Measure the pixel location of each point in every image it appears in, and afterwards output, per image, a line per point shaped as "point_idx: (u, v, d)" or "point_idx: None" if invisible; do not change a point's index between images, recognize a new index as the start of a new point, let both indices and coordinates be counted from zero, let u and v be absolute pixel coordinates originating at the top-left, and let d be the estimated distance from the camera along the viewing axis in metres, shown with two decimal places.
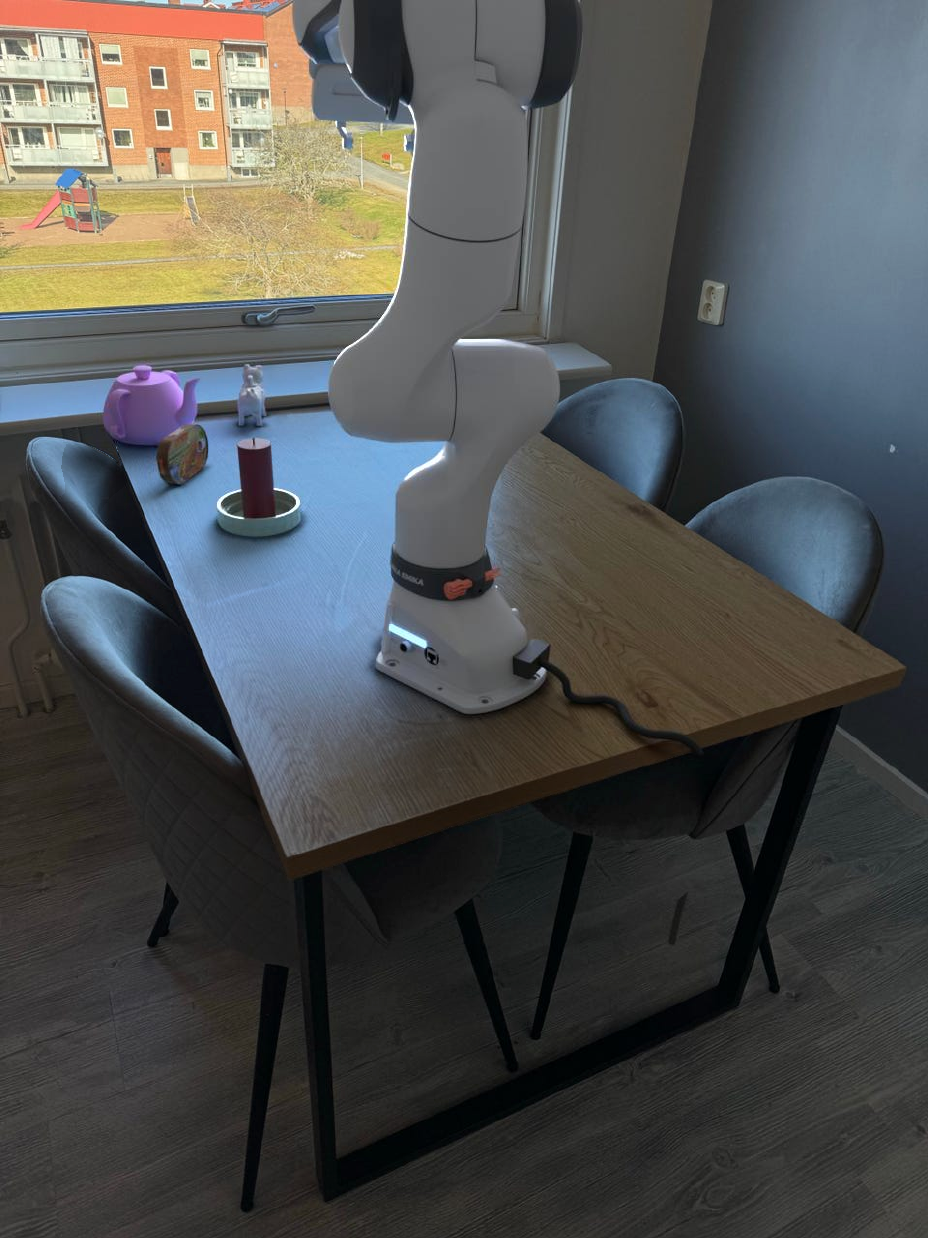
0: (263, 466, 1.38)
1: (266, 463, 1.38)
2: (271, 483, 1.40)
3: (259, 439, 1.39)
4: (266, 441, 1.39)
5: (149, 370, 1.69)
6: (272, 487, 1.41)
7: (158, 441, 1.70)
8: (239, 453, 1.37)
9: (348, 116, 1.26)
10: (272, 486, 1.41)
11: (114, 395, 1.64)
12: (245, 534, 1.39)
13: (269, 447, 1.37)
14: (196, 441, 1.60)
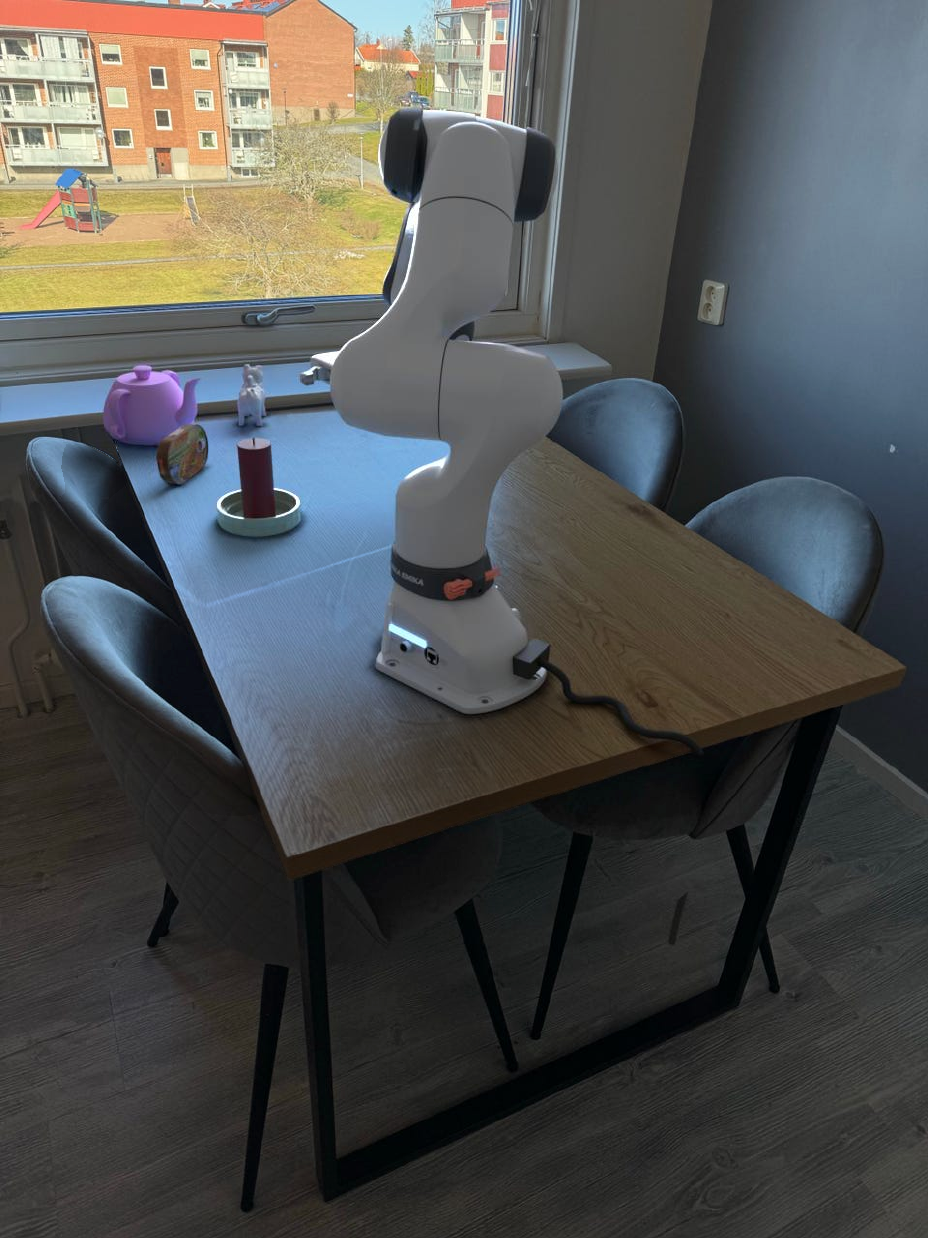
0: (263, 466, 1.38)
1: (266, 463, 1.38)
2: (271, 483, 1.40)
3: (259, 439, 1.39)
4: (266, 441, 1.39)
5: (149, 370, 1.69)
6: (272, 487, 1.41)
7: (158, 441, 1.70)
8: (239, 453, 1.37)
9: (329, 361, 1.47)
10: (272, 486, 1.41)
11: (114, 395, 1.64)
12: (245, 534, 1.39)
13: (269, 447, 1.37)
14: (196, 441, 1.60)
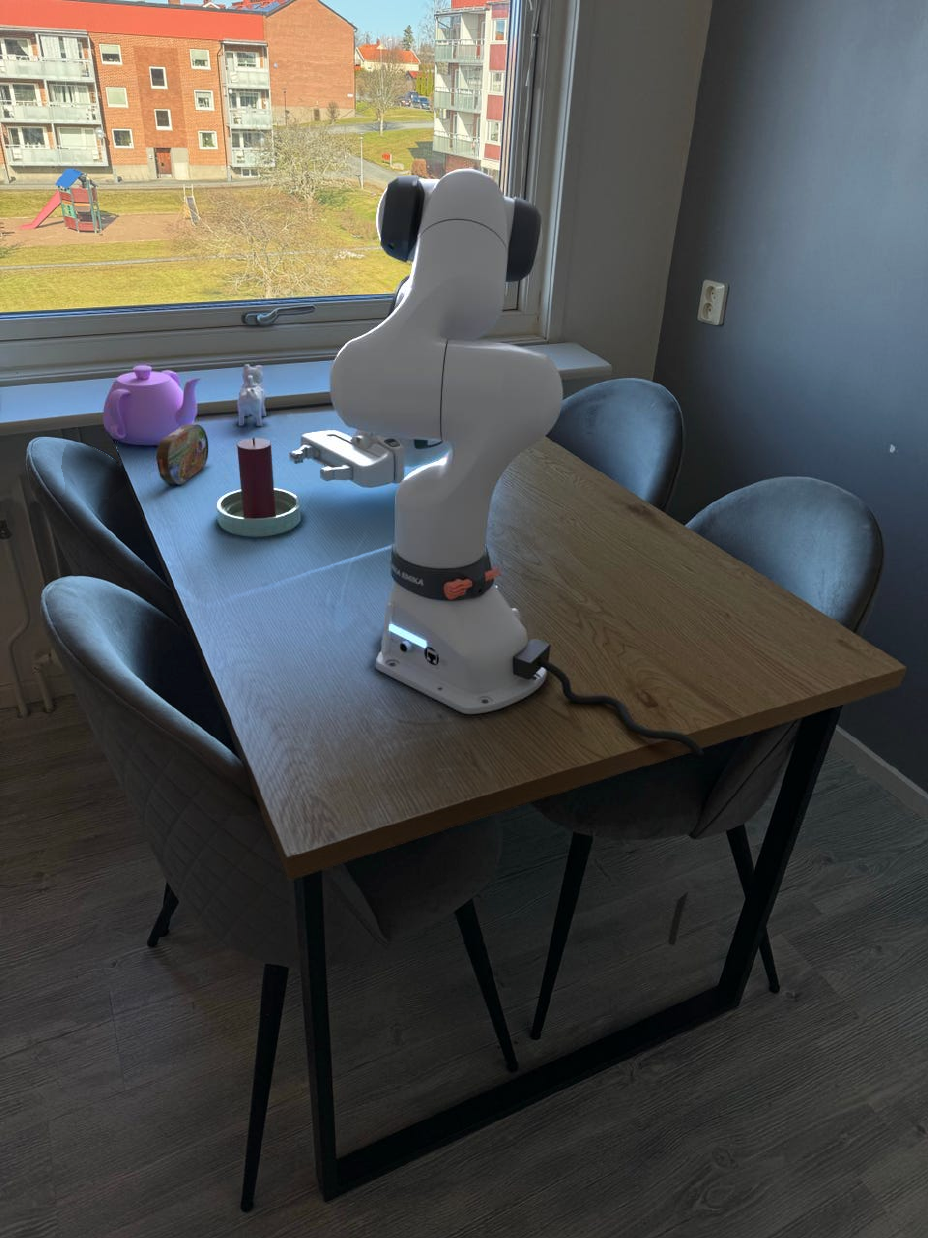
0: (263, 466, 1.38)
1: (266, 463, 1.38)
2: (271, 483, 1.40)
3: (259, 439, 1.39)
4: (266, 441, 1.39)
5: (149, 370, 1.69)
6: (272, 487, 1.41)
7: (158, 441, 1.70)
8: (239, 453, 1.37)
9: (318, 441, 1.52)
10: (272, 486, 1.41)
11: (114, 395, 1.64)
12: (245, 534, 1.39)
13: (269, 447, 1.37)
14: (196, 441, 1.60)
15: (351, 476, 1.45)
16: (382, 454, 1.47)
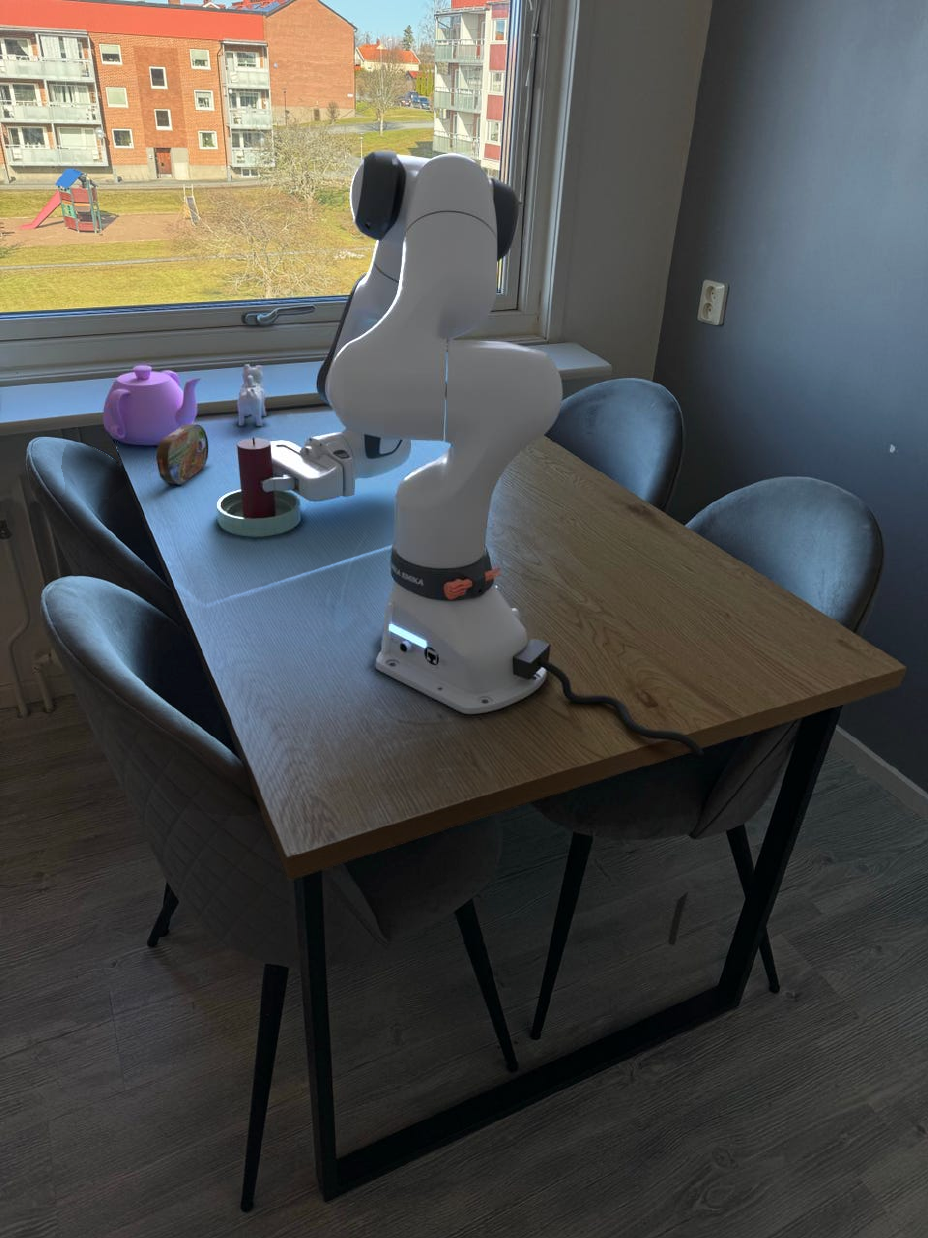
0: (263, 466, 1.38)
1: (266, 463, 1.38)
2: None
3: (259, 439, 1.39)
4: (266, 441, 1.39)
5: (149, 370, 1.69)
6: None
7: (158, 441, 1.70)
8: (239, 453, 1.37)
9: None
10: None
11: (114, 395, 1.64)
12: (245, 534, 1.39)
13: (269, 447, 1.37)
14: (196, 441, 1.60)
15: (293, 486, 1.40)
16: (331, 466, 1.41)
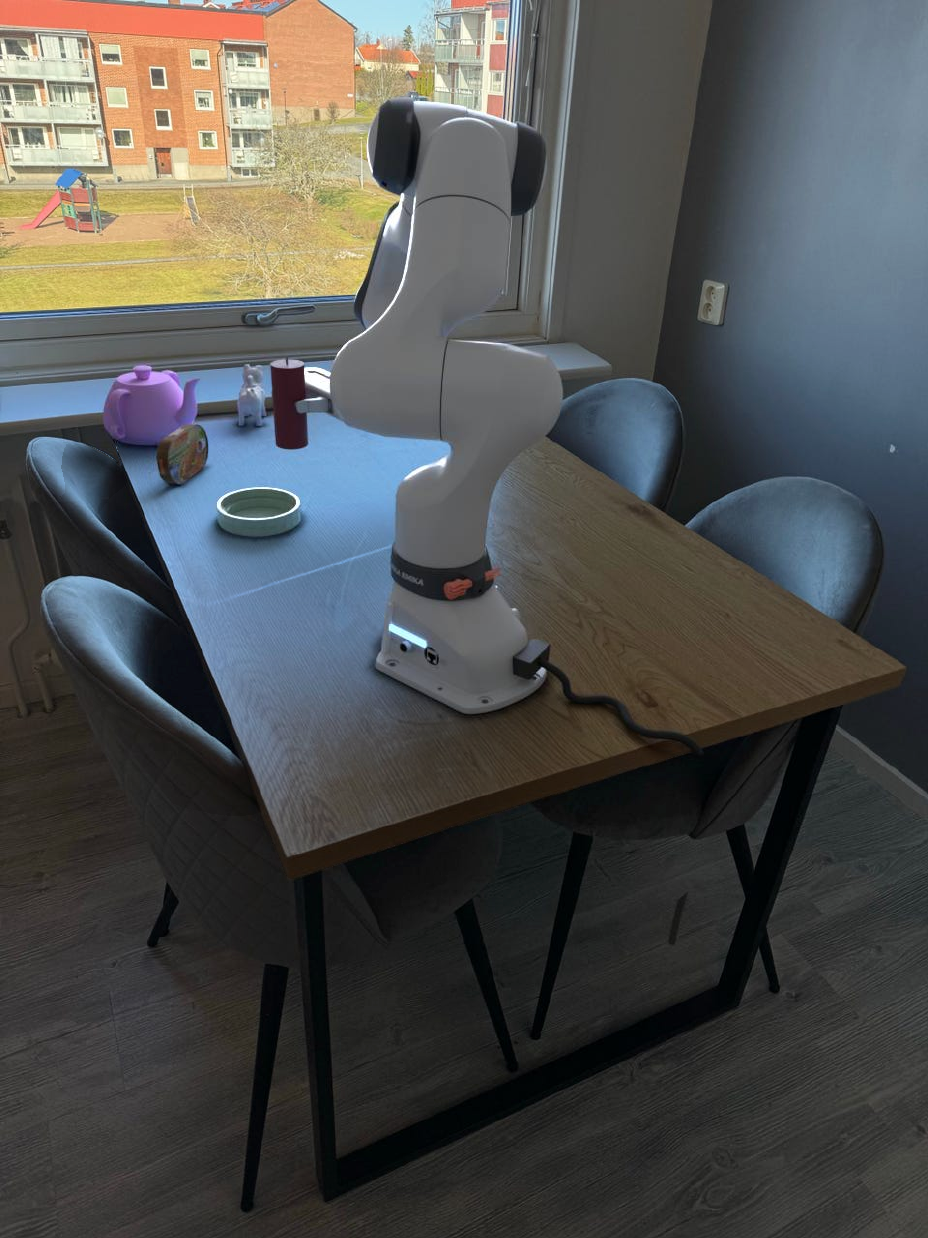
0: (297, 386, 1.36)
1: (300, 384, 1.36)
2: None
3: (292, 360, 1.38)
4: (299, 362, 1.37)
5: (149, 370, 1.69)
6: None
7: (158, 441, 1.70)
8: (272, 373, 1.35)
9: None
10: None
11: (114, 395, 1.64)
12: (245, 534, 1.39)
13: (303, 367, 1.36)
14: (196, 441, 1.60)
15: (326, 408, 1.38)
16: None
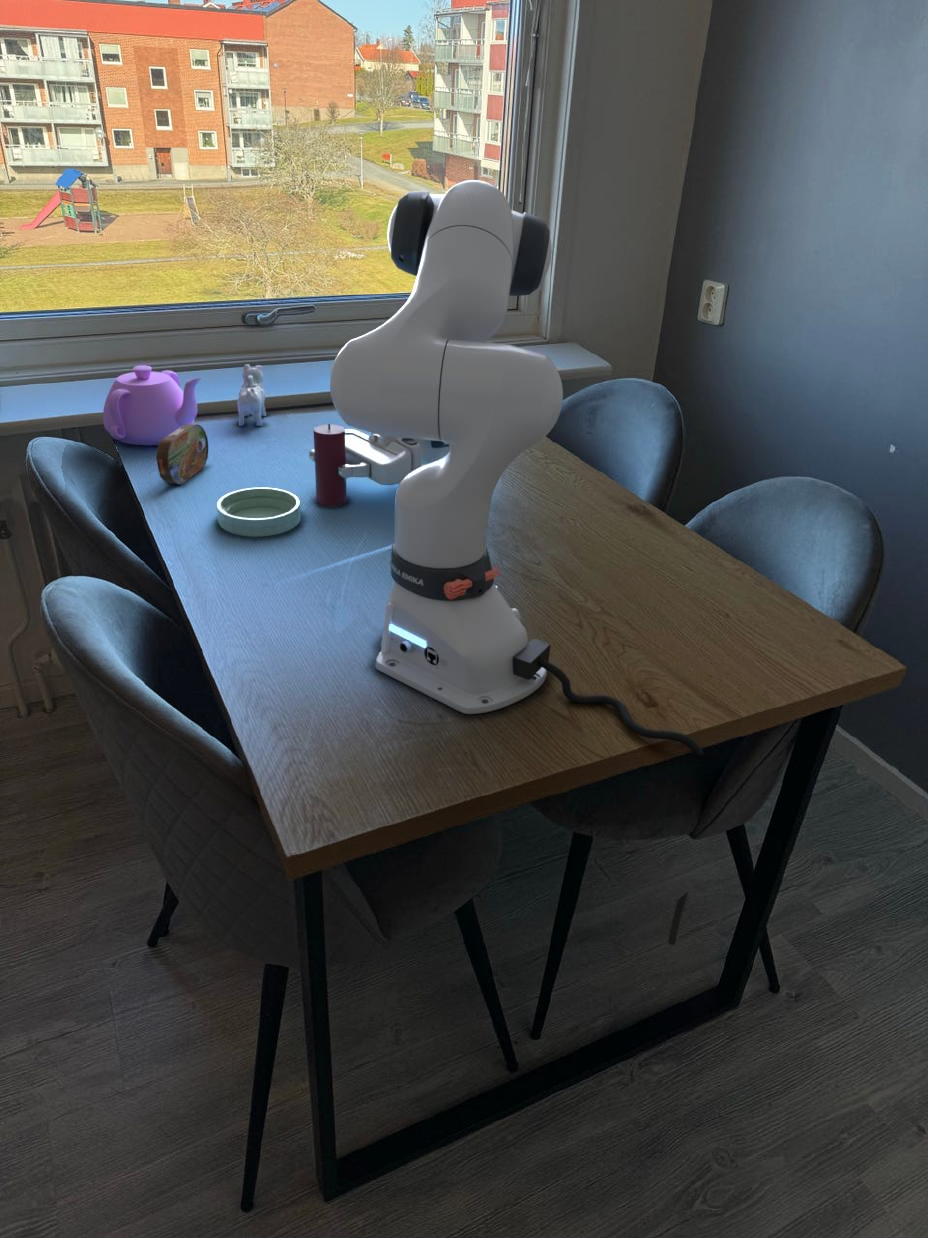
0: (338, 450, 1.46)
1: (340, 448, 1.46)
2: None
3: (333, 425, 1.48)
4: (340, 427, 1.47)
5: (149, 370, 1.69)
6: None
7: (158, 441, 1.70)
8: (316, 438, 1.45)
9: None
10: None
11: (114, 395, 1.64)
12: (245, 534, 1.39)
13: (344, 432, 1.46)
14: (196, 441, 1.60)
15: (369, 473, 1.48)
16: (400, 452, 1.49)
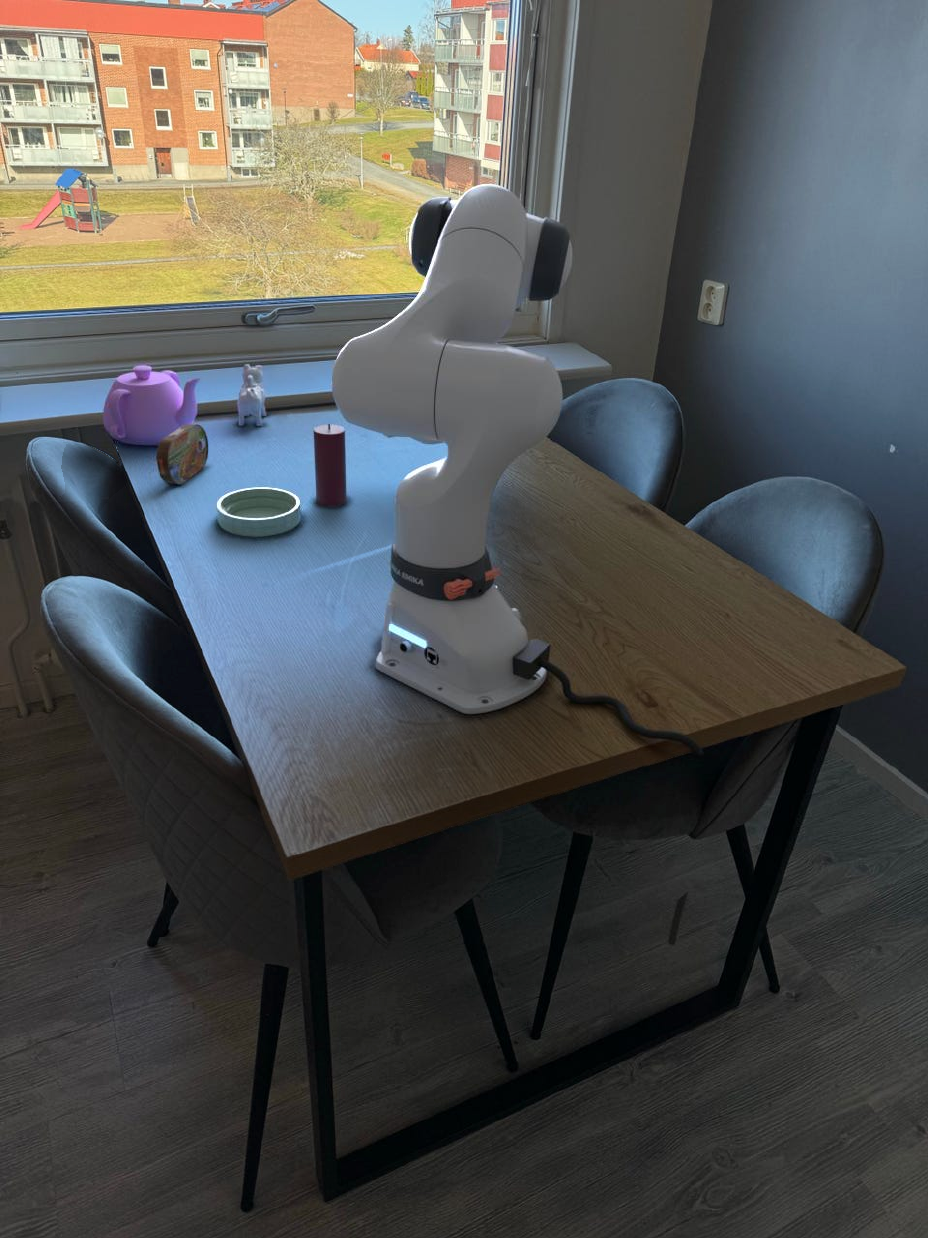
0: (338, 450, 1.46)
1: (340, 448, 1.46)
2: (344, 467, 1.49)
3: (333, 425, 1.48)
4: (340, 427, 1.47)
5: (149, 370, 1.69)
6: (345, 471, 1.49)
7: (158, 441, 1.70)
8: (316, 438, 1.45)
9: None
10: (345, 470, 1.49)
11: (114, 395, 1.64)
12: (245, 534, 1.39)
13: (344, 432, 1.46)
14: (196, 441, 1.60)
15: None
16: None
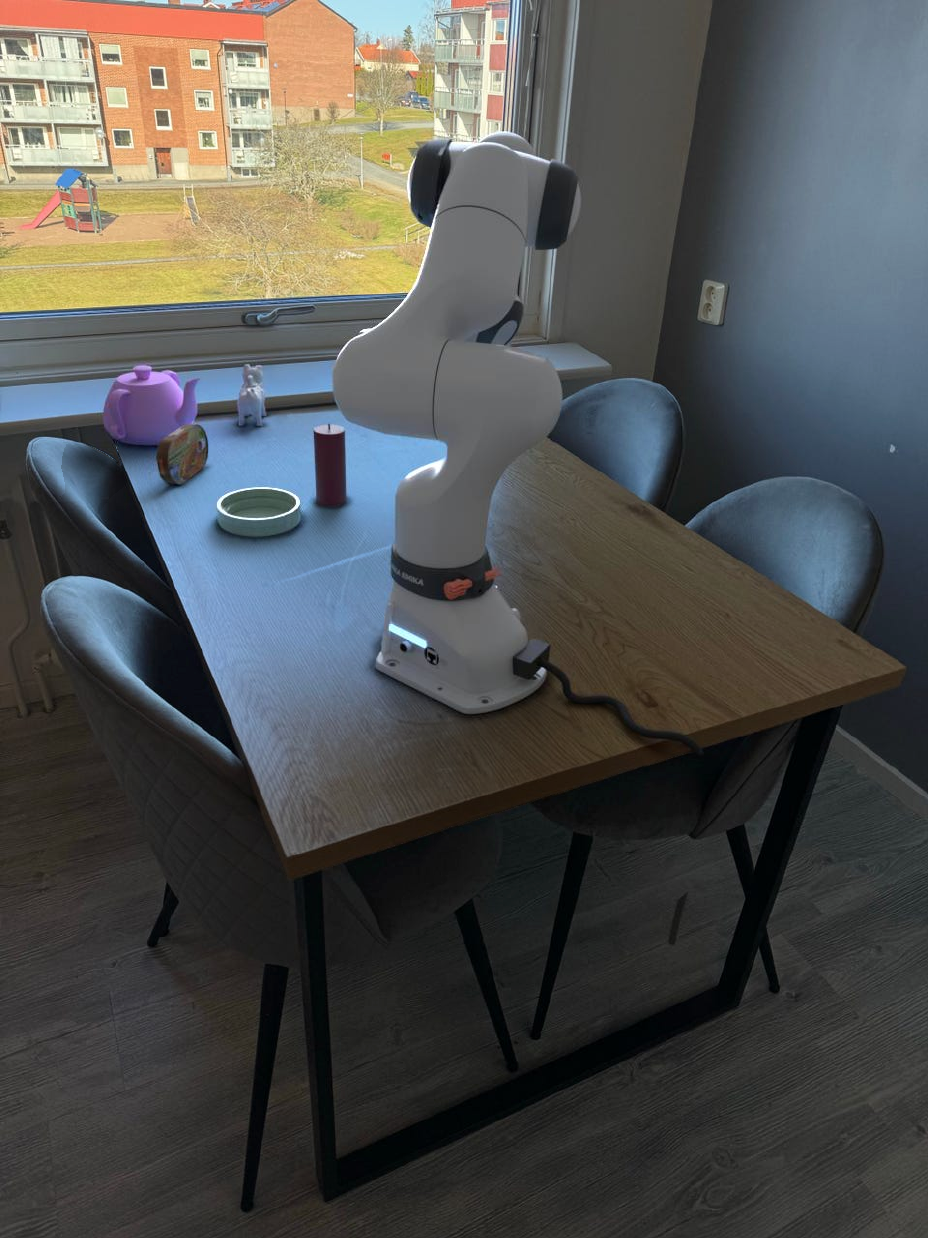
0: (338, 450, 1.46)
1: (340, 448, 1.46)
2: (344, 467, 1.49)
3: (333, 425, 1.48)
4: (340, 427, 1.47)
5: (149, 370, 1.69)
6: (345, 471, 1.49)
7: (158, 441, 1.70)
8: (316, 438, 1.45)
9: None
10: (345, 470, 1.49)
11: (114, 395, 1.64)
12: (245, 534, 1.39)
13: (344, 432, 1.46)
14: (196, 441, 1.60)
15: None
16: None
